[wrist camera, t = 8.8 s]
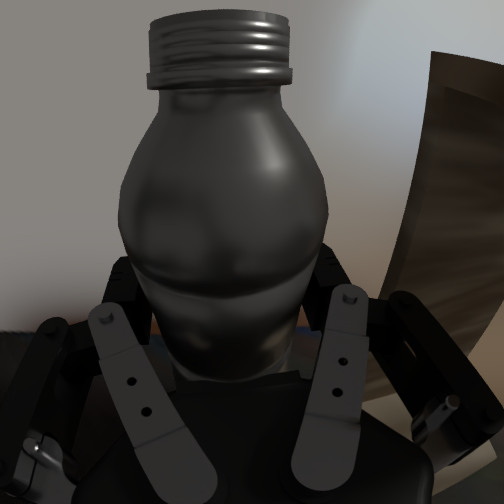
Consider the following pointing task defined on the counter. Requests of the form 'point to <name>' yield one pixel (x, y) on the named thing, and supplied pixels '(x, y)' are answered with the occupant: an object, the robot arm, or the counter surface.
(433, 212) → the cubby shelf
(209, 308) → the plastic bottle
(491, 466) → the counter surface
